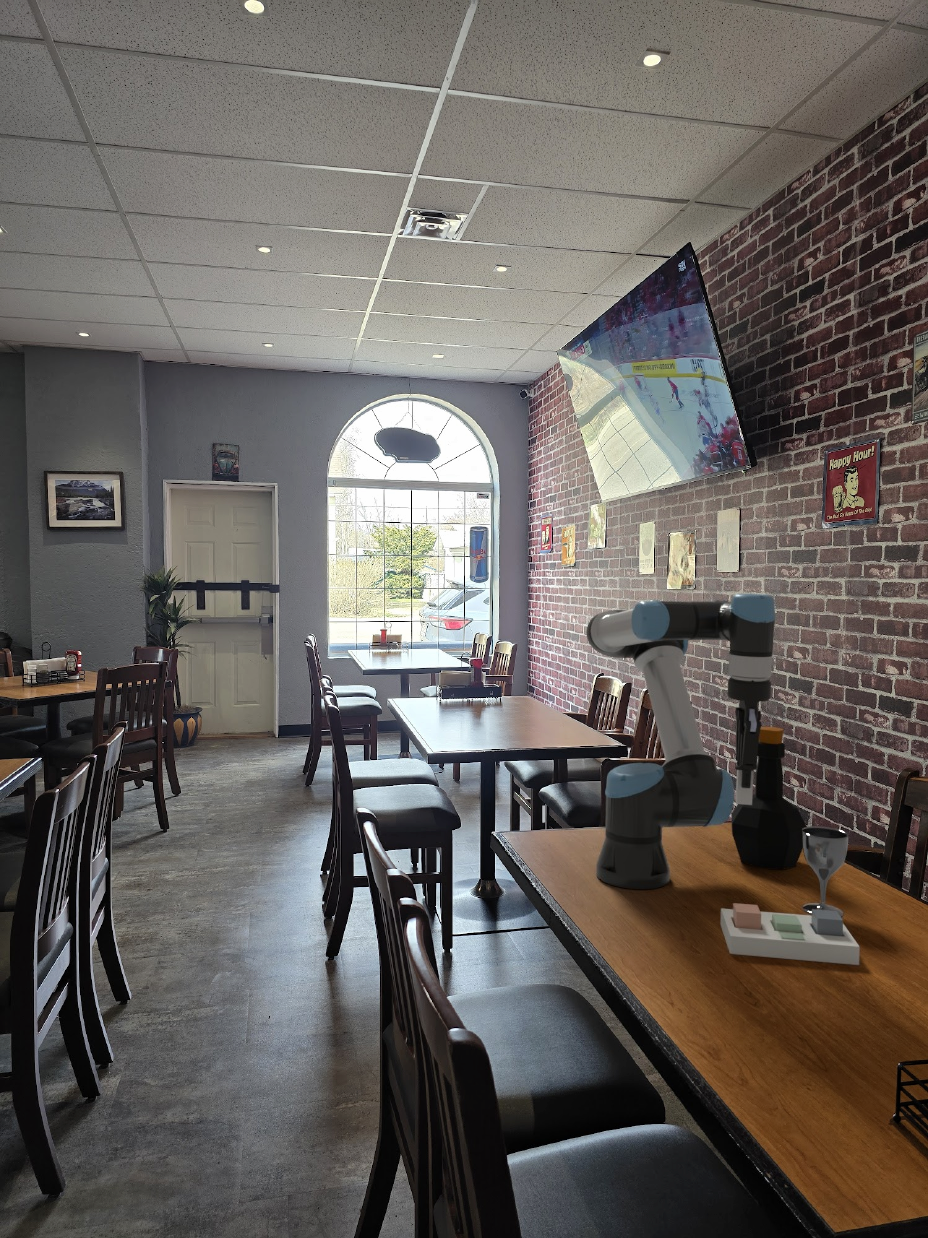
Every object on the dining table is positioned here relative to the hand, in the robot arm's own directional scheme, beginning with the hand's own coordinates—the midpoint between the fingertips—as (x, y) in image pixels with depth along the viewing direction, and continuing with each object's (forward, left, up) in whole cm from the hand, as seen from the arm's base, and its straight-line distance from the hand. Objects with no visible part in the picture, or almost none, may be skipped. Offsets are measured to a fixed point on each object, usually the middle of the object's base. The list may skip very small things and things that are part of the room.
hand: (743, 803), depth 151 cm
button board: (+5, -12, -21) cm, 25 cm away
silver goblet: (+15, +5, -21) cm, 27 cm away
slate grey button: (+12, -12, -18) cm, 25 cm away
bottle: (+10, +33, -21) cm, 40 cm away
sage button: (+5, -12, -20) cm, 24 cm away
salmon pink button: (-1, -12, -18) cm, 22 cm away
